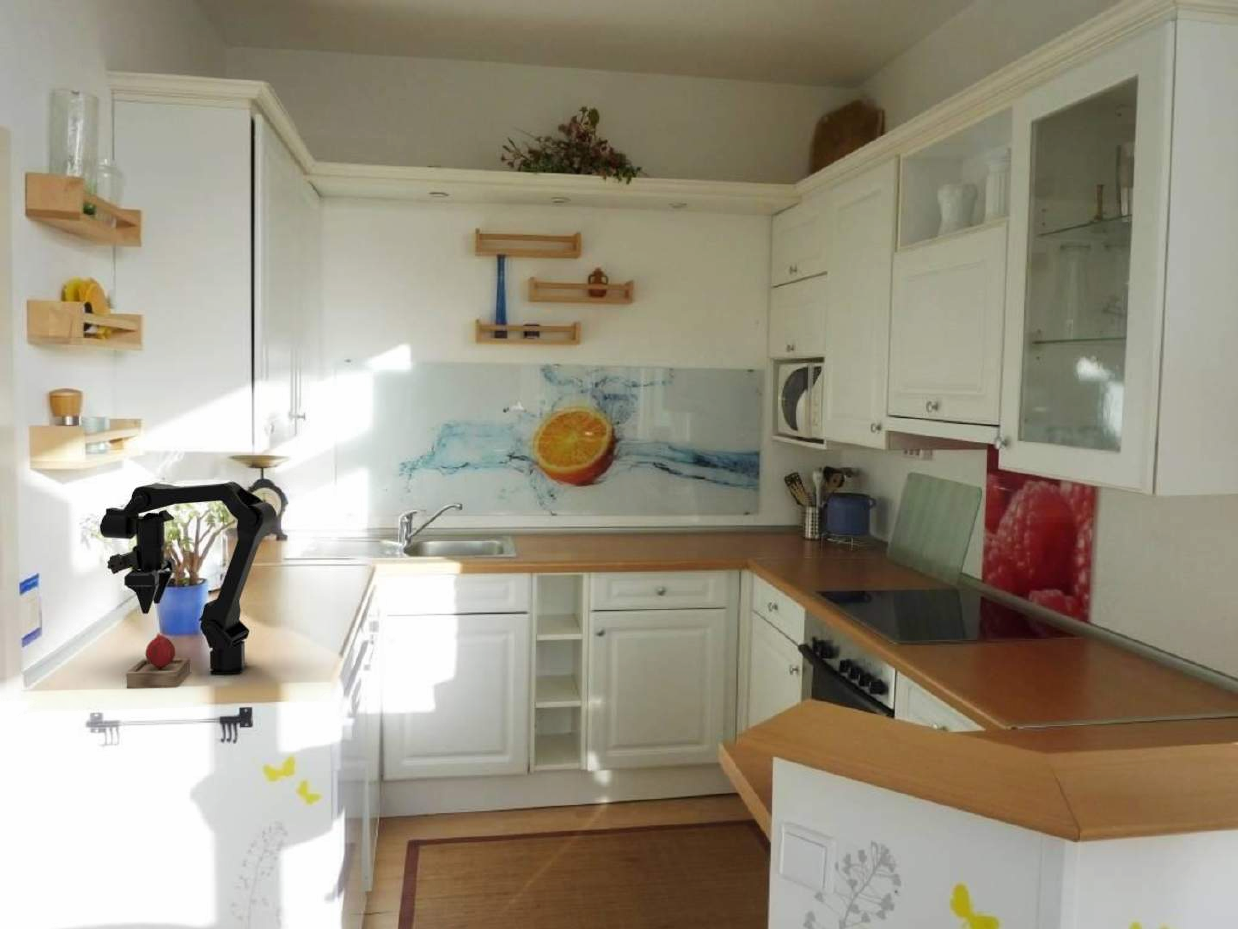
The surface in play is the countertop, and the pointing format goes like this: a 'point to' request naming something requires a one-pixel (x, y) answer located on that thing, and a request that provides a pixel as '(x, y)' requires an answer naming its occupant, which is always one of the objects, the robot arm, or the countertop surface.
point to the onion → (160, 651)
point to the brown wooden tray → (158, 674)
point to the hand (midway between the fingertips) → (151, 608)
